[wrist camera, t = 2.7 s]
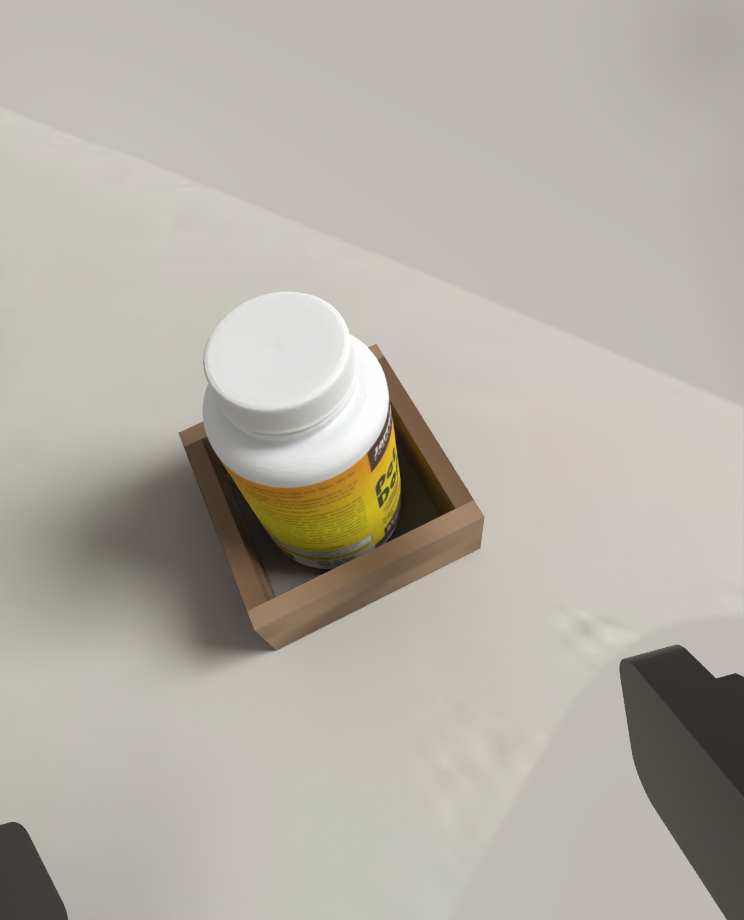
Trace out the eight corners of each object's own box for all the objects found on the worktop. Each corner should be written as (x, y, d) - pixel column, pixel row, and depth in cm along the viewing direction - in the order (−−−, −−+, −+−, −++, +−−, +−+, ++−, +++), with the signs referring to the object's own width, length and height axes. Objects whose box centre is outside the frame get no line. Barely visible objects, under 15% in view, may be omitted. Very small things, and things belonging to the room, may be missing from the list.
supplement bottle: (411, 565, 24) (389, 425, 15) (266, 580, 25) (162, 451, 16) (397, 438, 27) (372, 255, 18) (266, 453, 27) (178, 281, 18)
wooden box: (276, 650, 23) (254, 630, 21) (204, 468, 27) (178, 432, 25) (480, 547, 24) (484, 516, 22) (383, 387, 28) (376, 344, 26)
